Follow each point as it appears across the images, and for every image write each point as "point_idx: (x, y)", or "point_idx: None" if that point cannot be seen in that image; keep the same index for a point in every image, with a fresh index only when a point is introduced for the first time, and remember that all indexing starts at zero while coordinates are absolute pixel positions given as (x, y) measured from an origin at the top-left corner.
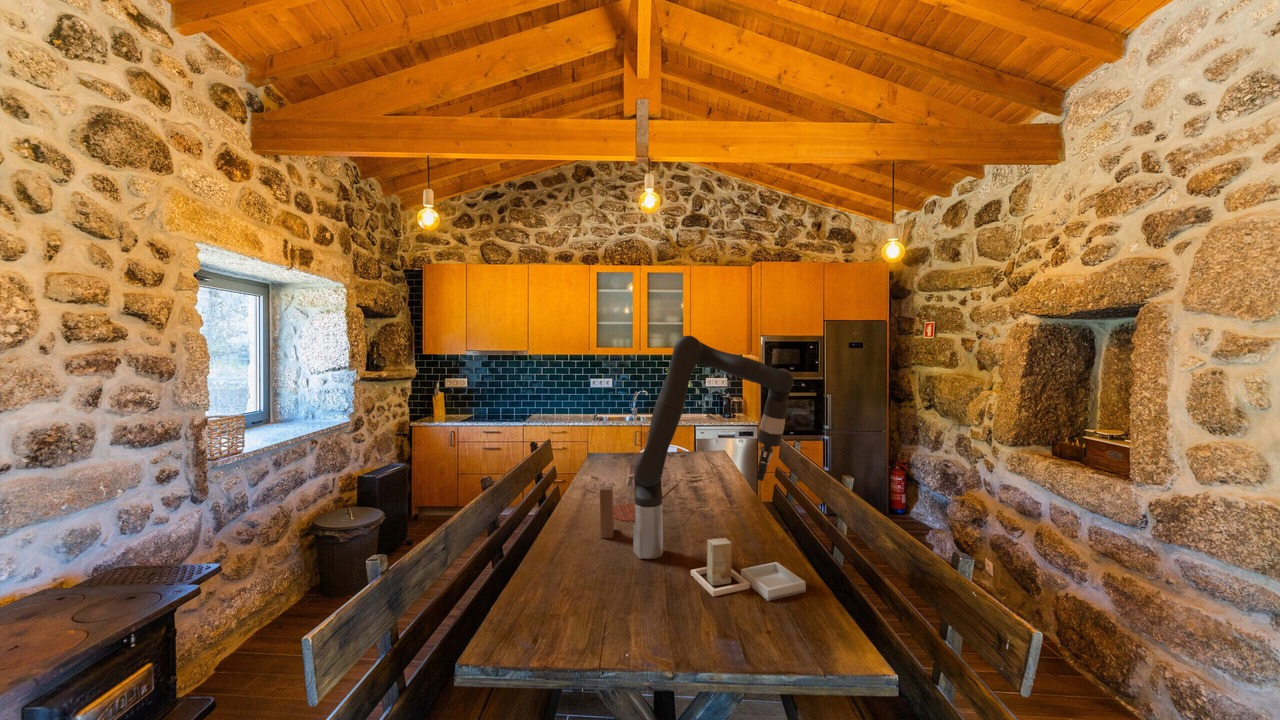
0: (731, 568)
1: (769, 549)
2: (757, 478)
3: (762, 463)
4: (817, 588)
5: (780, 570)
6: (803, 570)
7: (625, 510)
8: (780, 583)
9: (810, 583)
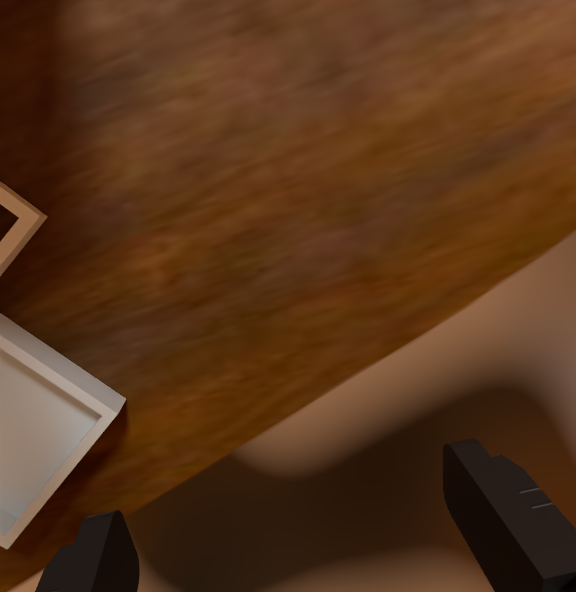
0: (6, 258)
1: (307, 320)
2: (83, 533)
3: (517, 558)
4: None
5: (87, 433)
6: (187, 475)
7: None
8: (13, 449)
9: None
